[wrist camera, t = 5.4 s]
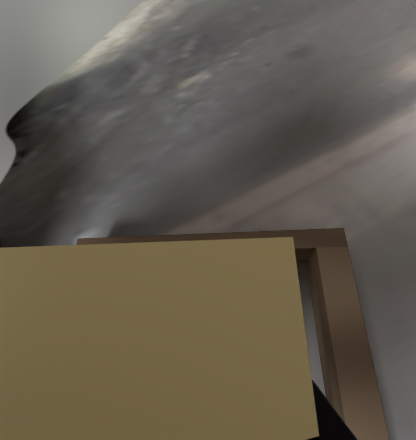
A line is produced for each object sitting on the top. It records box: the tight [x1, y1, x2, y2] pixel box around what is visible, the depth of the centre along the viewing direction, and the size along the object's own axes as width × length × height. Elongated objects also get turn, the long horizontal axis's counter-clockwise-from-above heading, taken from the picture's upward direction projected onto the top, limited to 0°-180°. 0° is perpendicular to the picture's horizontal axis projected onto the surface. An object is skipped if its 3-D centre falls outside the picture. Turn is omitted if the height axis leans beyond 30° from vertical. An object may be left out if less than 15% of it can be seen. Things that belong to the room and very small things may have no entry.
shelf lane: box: [77, 228, 389, 440], centre depth 13 cm, size 12×14×2 cm
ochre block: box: [0, 237, 319, 440], centre depth 7 cm, size 5×5×12 cm
